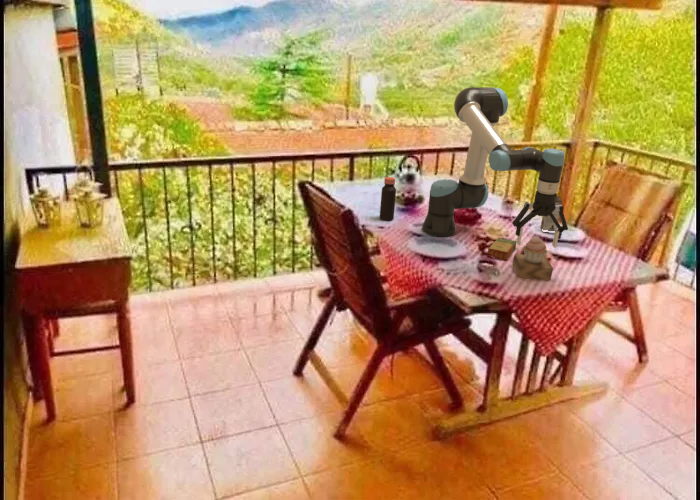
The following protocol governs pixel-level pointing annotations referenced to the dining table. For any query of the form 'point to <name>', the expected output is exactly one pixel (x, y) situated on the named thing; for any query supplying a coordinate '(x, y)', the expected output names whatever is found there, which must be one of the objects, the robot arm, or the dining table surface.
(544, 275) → the block
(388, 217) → the bottle
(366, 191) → the dining table surface
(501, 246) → the carton
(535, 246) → the cupcake
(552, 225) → the coffee box
